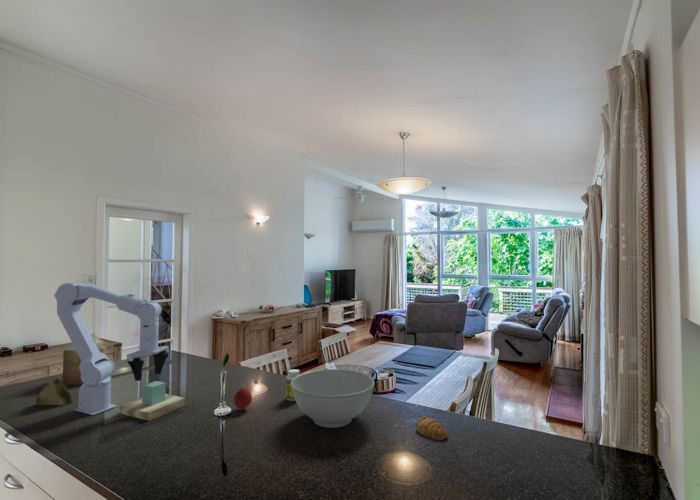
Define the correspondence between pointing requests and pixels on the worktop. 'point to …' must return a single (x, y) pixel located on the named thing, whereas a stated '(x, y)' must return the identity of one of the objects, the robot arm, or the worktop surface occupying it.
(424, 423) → the pastry
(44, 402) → the rock
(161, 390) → the teal block
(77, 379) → the tan tall block
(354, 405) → the decorative bowl
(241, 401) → the onion
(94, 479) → the worktop surface
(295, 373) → the supplement bottle
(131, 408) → the birch base board
